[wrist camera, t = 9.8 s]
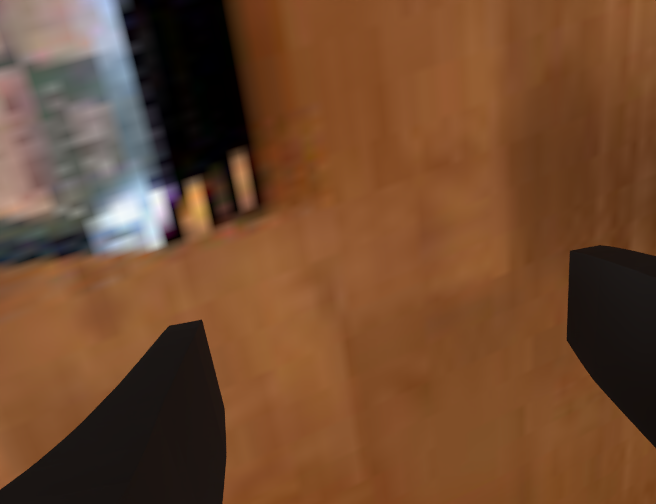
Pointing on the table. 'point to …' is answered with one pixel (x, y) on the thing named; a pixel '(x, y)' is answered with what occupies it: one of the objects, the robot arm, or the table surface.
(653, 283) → the robot arm
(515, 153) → the table surface
